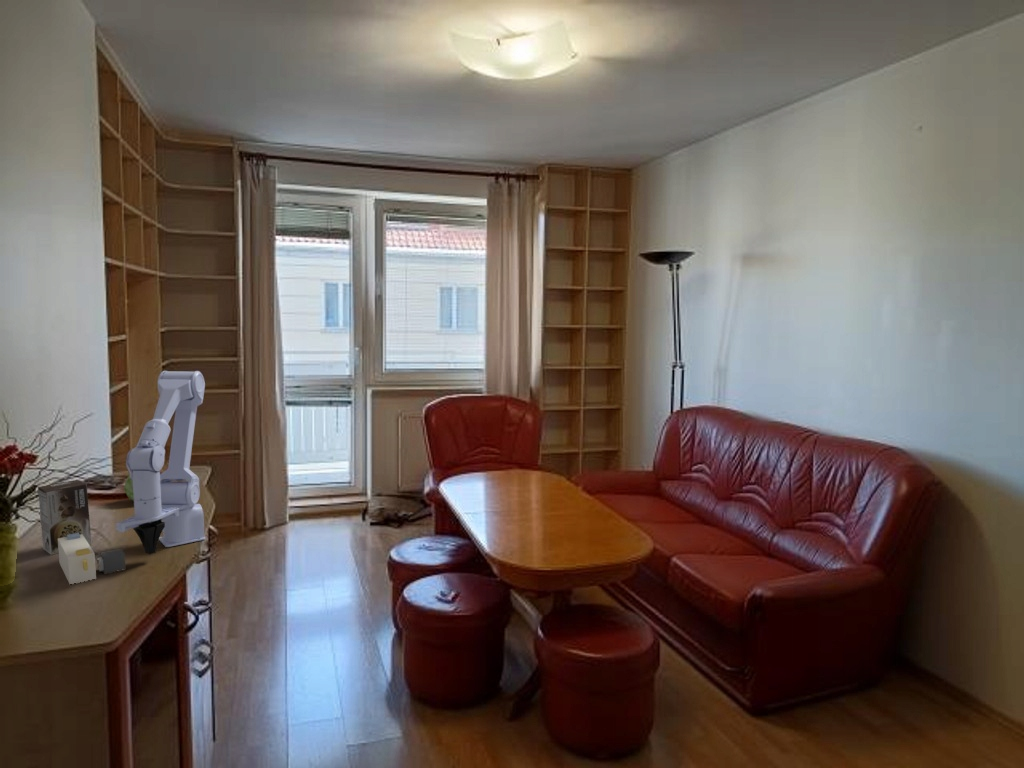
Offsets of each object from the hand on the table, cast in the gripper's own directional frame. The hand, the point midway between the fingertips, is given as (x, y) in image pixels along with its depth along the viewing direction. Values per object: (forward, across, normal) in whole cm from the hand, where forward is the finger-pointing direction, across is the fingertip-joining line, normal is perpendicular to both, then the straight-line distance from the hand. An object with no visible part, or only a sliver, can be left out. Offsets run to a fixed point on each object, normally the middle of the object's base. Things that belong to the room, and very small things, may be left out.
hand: (150, 552), depth 164 cm
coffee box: (+2, +5, -26) cm, 27 cm away
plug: (+2, +7, -3) cm, 8 cm away
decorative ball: (+2, -28, -47) cm, 55 cm away
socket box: (+2, +12, -9) cm, 15 cm away
